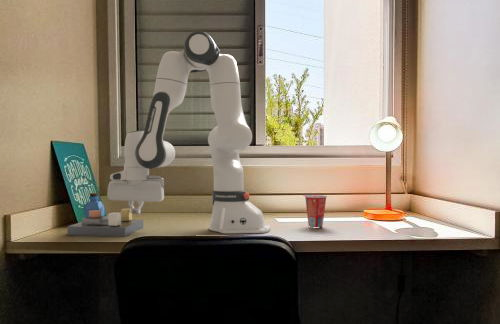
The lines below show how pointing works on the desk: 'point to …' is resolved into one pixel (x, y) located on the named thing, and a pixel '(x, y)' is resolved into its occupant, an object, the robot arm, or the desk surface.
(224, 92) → the robot arm
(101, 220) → the console
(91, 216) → the push button
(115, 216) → the ivory slider
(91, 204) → the perfume bottle
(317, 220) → the cup
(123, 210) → the brass slider
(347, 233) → the desk surface
